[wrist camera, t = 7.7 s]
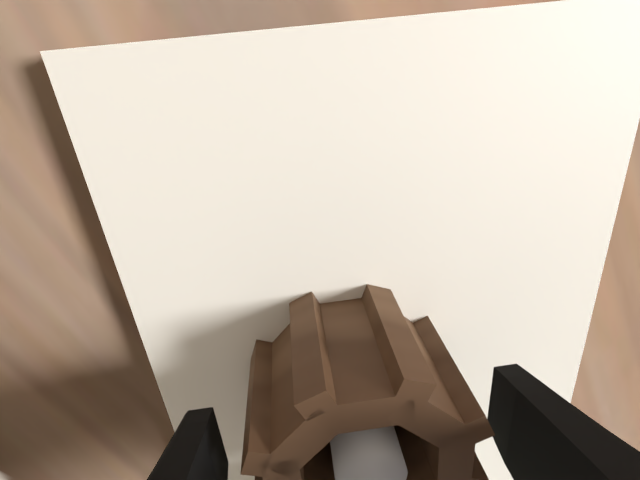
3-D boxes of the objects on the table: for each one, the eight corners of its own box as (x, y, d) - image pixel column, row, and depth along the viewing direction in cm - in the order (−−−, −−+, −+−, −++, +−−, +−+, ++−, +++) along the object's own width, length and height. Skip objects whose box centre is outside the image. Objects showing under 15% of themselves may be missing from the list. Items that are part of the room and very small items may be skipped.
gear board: (632, -4, 9) (1039, -73, 4) (524, 515, 18) (619, 692, 13) (64, 51, 9) (-221, 45, 4) (232, 562, 17) (214, 768, 12)
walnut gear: (438, 274, 11) (504, 364, 8) (433, 416, 13) (482, 531, 10) (238, 301, 11) (221, 406, 7) (268, 441, 13) (265, 567, 10)
